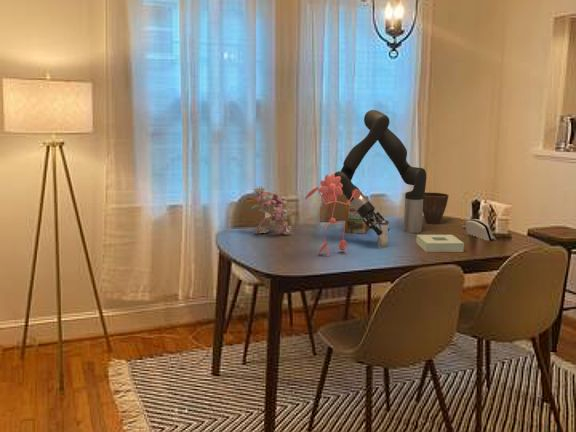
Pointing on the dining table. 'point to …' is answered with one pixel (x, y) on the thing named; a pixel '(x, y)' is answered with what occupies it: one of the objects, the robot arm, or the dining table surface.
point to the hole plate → (440, 243)
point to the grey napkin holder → (479, 229)
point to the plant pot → (434, 207)
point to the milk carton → (354, 221)
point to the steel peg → (383, 233)
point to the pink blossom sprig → (331, 192)
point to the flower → (277, 212)
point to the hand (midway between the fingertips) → (384, 232)
